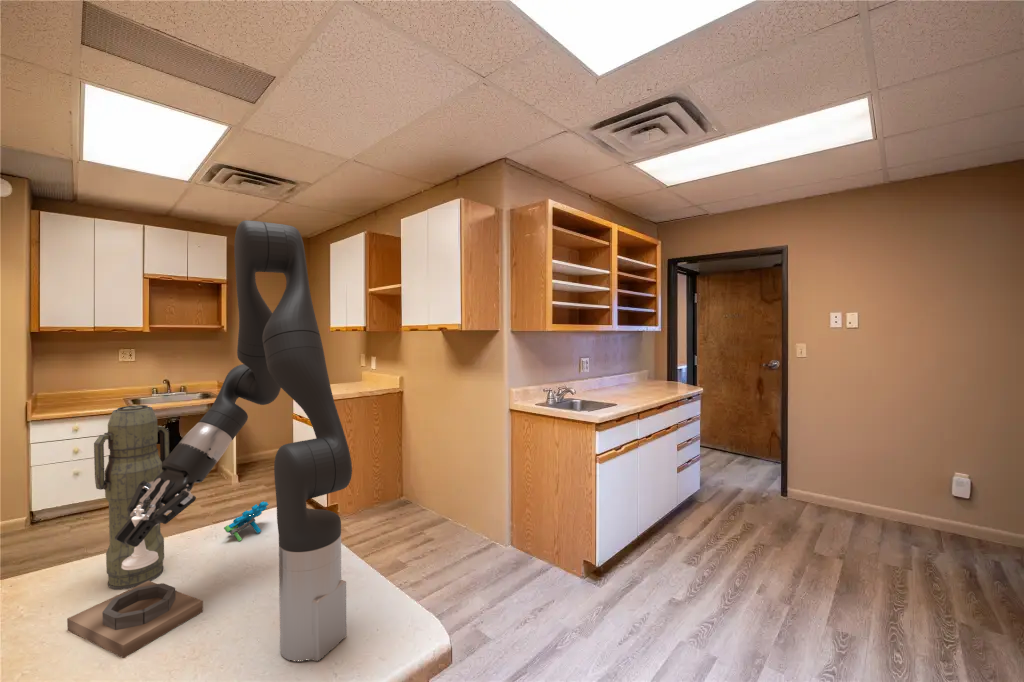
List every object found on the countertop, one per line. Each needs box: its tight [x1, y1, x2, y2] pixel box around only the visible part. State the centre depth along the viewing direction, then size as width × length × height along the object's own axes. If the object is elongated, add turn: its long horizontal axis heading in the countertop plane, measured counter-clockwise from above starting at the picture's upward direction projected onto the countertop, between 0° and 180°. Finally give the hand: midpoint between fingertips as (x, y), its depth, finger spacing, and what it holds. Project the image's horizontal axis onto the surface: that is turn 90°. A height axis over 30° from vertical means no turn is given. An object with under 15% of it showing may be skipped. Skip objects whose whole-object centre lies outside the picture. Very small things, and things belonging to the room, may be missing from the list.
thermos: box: [93, 404, 170, 590], centre depth 89 cm, size 9×12×35 cm
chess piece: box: [121, 505, 159, 570], centre depth 76 cm, size 5×5×10 cm
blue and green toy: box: [223, 501, 269, 542], centre depth 109 cm, size 11×6×10 cm
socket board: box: [66, 581, 204, 659], centre depth 76 cm, size 16×12×4 cm
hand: (125, 542), depth 74 cm, fingers closed on chess piece
